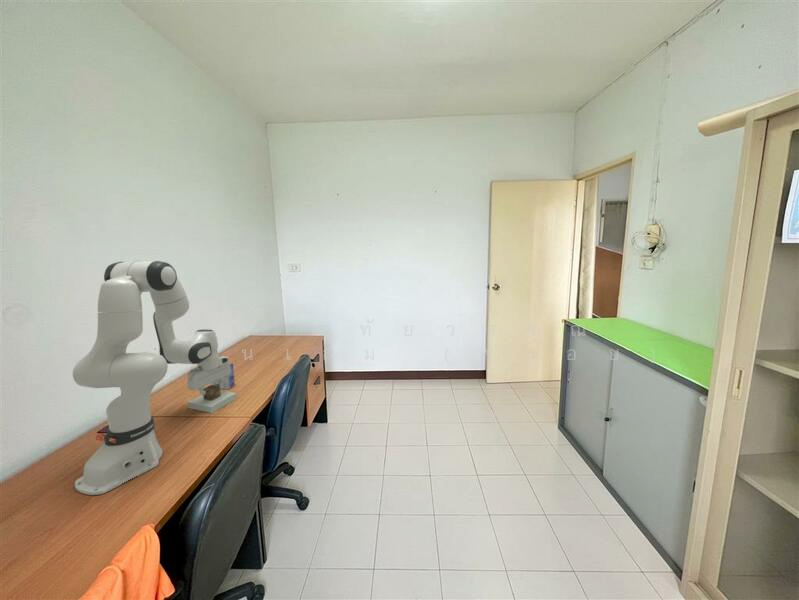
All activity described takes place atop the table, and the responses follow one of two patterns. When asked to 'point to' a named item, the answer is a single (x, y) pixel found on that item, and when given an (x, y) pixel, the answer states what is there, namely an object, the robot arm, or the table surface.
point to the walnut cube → (212, 392)
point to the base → (212, 402)
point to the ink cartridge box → (227, 380)
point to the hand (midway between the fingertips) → (211, 390)
